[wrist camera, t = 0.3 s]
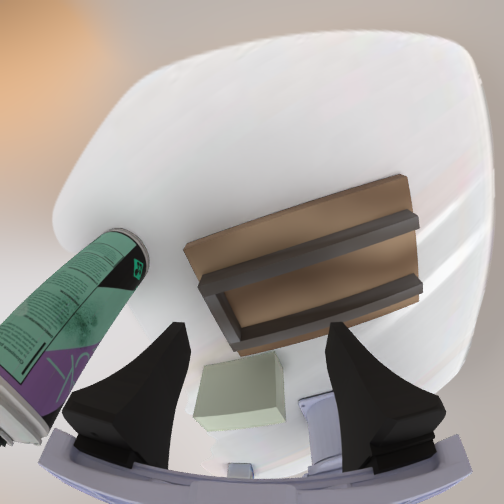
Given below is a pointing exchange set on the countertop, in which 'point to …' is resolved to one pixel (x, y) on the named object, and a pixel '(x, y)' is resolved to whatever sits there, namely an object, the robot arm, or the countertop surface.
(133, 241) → the spray can
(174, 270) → the countertop surface
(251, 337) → the door track
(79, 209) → the countertop surface
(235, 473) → the medicine box
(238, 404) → the pale green block
